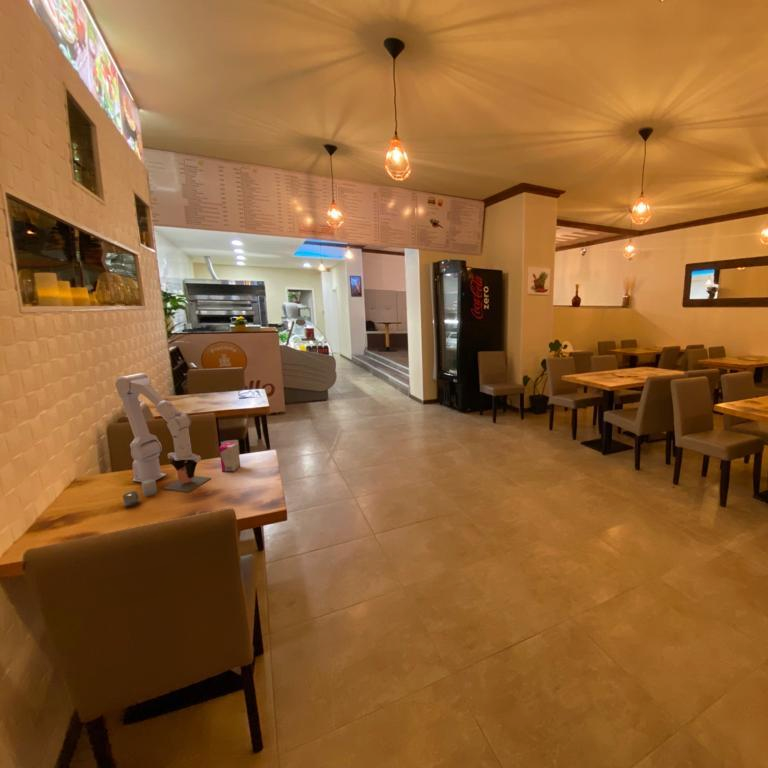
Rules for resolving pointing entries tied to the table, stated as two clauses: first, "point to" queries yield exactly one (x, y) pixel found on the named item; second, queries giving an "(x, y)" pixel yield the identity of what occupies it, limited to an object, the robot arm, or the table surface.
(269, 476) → the table surface
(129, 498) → the metal tin
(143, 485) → the grey domed cylinder
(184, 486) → the charcoal mat
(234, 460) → the supplement box
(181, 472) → the red block
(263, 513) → the table surface
